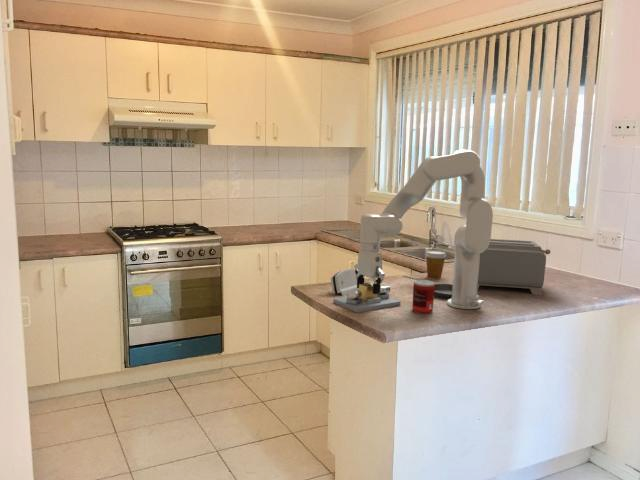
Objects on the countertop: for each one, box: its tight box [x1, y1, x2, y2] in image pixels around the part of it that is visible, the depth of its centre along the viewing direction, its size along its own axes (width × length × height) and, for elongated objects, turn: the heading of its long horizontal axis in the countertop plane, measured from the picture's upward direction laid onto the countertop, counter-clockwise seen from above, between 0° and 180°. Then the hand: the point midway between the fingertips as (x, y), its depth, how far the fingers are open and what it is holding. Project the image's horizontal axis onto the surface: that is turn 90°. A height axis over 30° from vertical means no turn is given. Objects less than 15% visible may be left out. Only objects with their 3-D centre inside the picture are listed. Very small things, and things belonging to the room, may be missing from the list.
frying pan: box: [402, 275, 453, 300], centre depth 241 cm, size 18×32×4 cm, turn 46°
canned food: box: [411, 279, 436, 315], centre depth 211 cm, size 8×8×11 cm
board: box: [332, 296, 402, 313], centre depth 218 cm, size 21×15×3 cm
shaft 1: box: [346, 290, 362, 305], centre depth 213 cm, size 6×4×6 cm
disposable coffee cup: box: [425, 250, 447, 280], centre depth 266 cm, size 10×10×12 cm
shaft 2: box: [377, 285, 391, 300], centre depth 222 cm, size 6×4×6 cm
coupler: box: [359, 281, 377, 302], centre depth 218 cm, size 5×5×7 cm
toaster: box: [478, 238, 551, 296], centre depth 251 cm, size 19×35×20 cm, turn 81°
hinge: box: [330, 268, 359, 297], centre depth 236 cm, size 17×5×10 cm, turn 141°
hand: (368, 290), depth 218 cm, fingers open, 9 cm apart
